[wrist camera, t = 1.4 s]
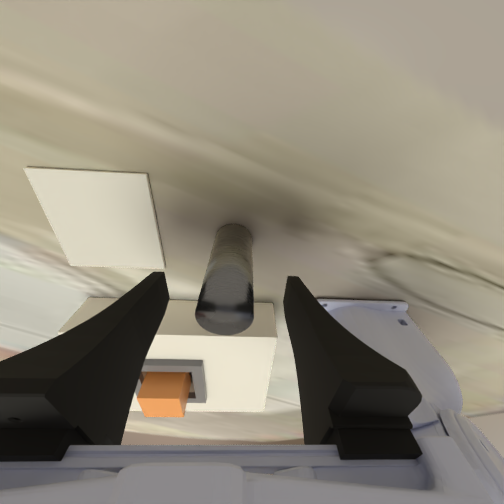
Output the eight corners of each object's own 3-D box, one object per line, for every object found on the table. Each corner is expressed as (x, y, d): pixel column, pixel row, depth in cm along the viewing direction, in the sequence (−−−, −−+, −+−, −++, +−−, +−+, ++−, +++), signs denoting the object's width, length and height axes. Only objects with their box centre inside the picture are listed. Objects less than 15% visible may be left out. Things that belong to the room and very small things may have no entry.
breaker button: (187, 363, 21) (179, 398, 18) (191, 382, 23) (183, 417, 20) (150, 363, 21) (136, 398, 18) (157, 382, 23) (145, 416, 20)
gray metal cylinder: (253, 224, 17) (255, 295, 10) (250, 256, 19) (252, 336, 12) (215, 222, 17) (192, 293, 10) (216, 254, 18) (197, 334, 12)
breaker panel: (272, 303, 22) (278, 343, 18) (261, 377, 29) (263, 417, 25) (88, 297, 21) (52, 338, 17) (125, 375, 28) (106, 416, 24)
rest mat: (147, 173, 15) (145, 174, 15) (165, 267, 19) (164, 269, 19) (27, 166, 14) (22, 167, 14) (72, 263, 19) (70, 265, 18)
